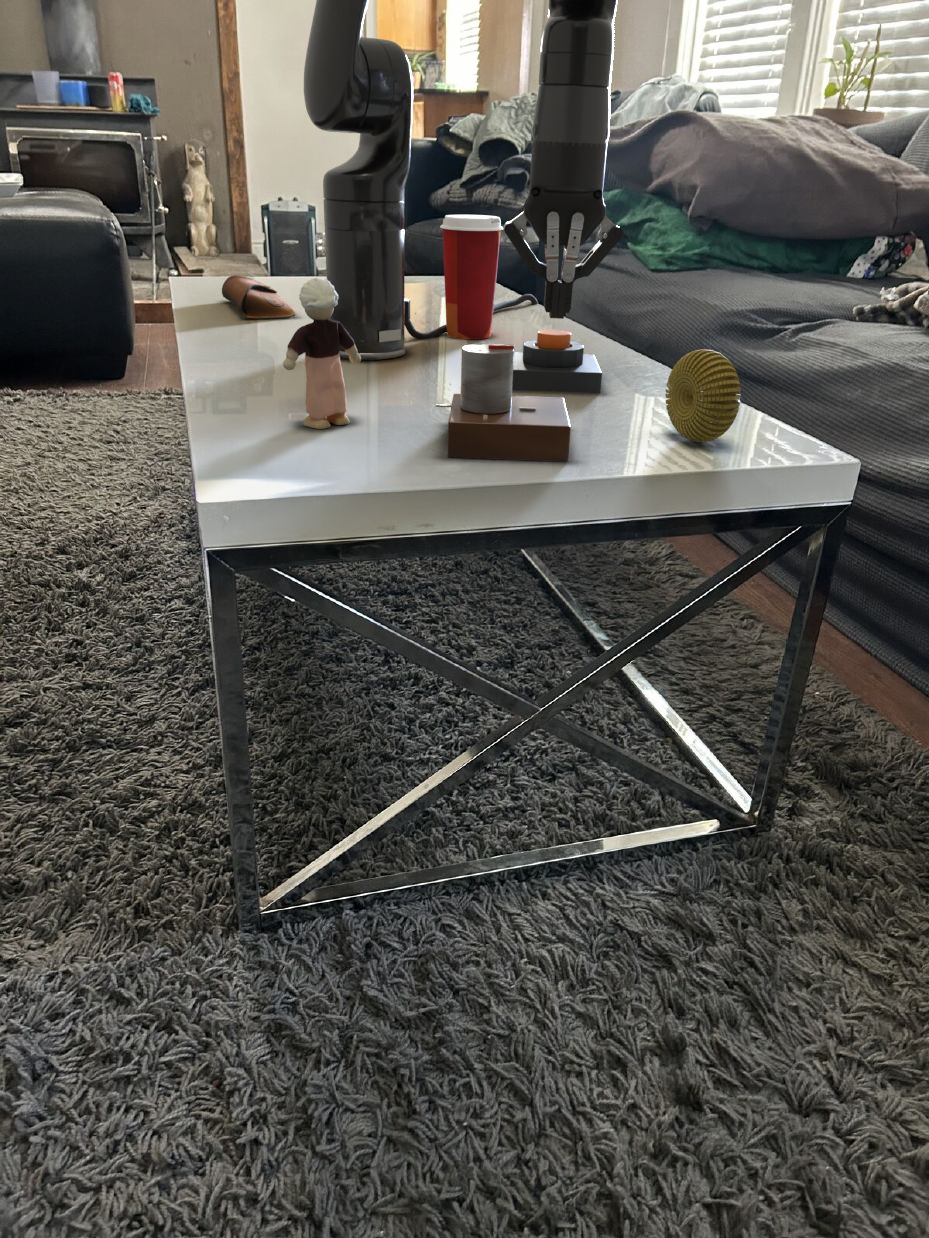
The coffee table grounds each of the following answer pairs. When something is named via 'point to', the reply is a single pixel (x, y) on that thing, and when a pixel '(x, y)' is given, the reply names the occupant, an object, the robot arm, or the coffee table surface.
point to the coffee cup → (470, 273)
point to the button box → (556, 369)
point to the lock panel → (511, 431)
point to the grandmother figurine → (322, 355)
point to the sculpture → (702, 395)
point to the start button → (553, 339)
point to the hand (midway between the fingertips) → (556, 317)
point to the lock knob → (487, 378)
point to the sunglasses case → (255, 298)
